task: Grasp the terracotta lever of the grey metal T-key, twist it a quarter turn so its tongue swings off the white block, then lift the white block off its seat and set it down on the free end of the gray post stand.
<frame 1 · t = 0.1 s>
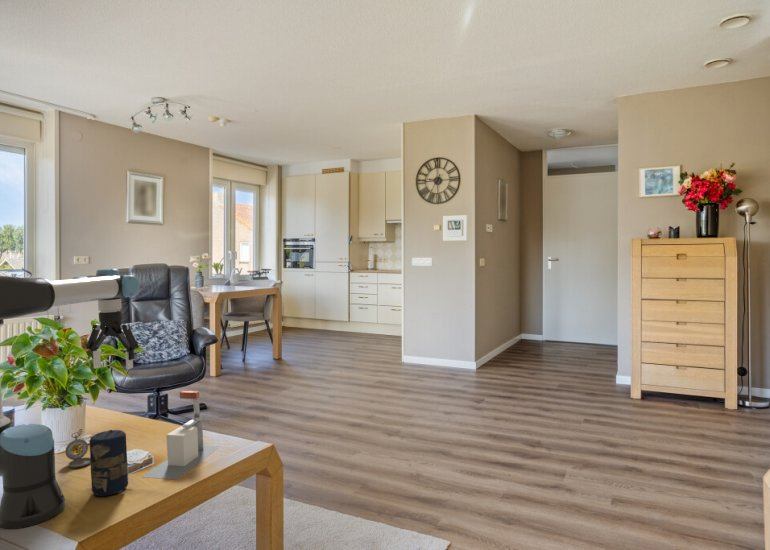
hand: (113, 368, 187), 28 cm above the table, fingers open, 13 cm apart
canister: (110, 491, 150), on the table
pocket watch: (80, 464, 170), on the table
key: (186, 408, 173), point 17 cm above the table, hinge at 0.0°
gray post stand: (183, 464, 167), on the table
white block: (183, 460, 167), point 1 cm above the table, touching gray post stand
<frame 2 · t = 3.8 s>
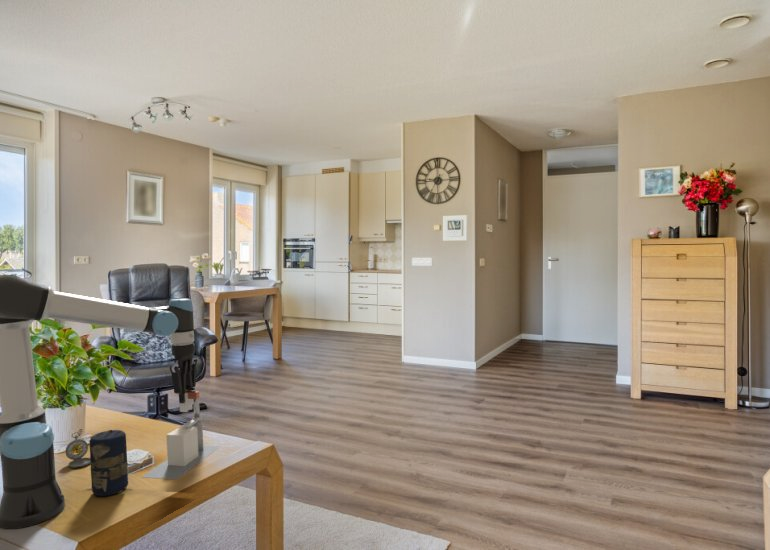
hand: (186, 410, 176), 15 cm above the table, fingers closed on key, 2 cm apart
key: (186, 408, 173), point 17 cm above the table, hinge at 0.0°, touching gripper
everything else where it was.
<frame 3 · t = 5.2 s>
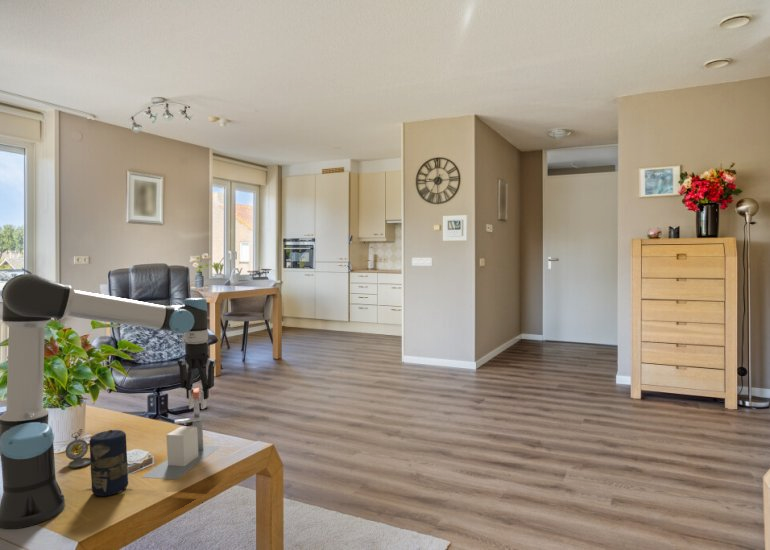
hand: (197, 407, 179), 15 cm above the table, fingers open, 4 cm apart
key: (188, 405, 176), point 17 cm above the table, hinge at -61.5°, touching gripper
everything else where it was.
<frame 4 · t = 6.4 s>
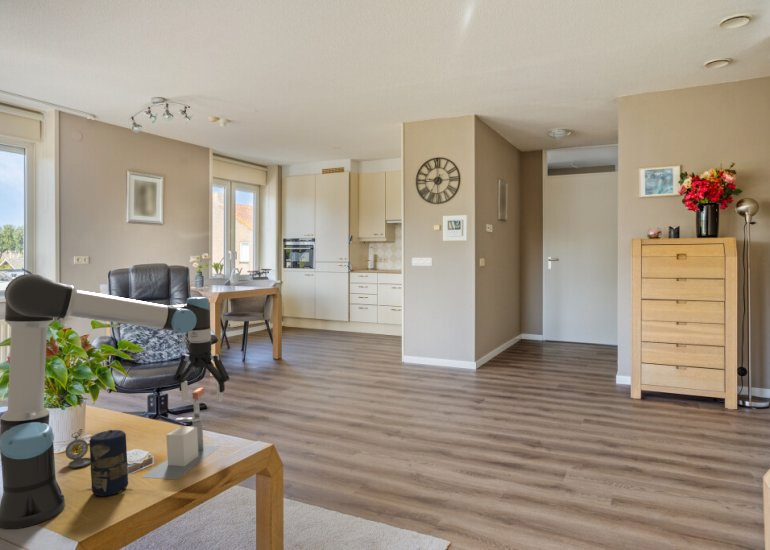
hand: (202, 400, 179), 17 cm above the table, fingers open, 13 cm apart
key: (190, 404, 177), point 17 cm above the table, hinge at -78.8°
everything else where it was.
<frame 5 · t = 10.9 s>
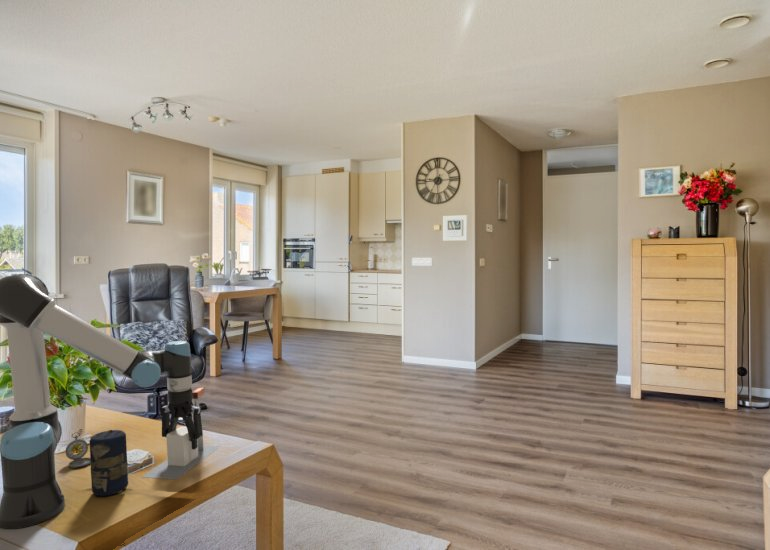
hand: (183, 457, 167), 2 cm above the table, fingers closed on white block, 6 cm apart
key: (190, 404, 177), point 17 cm above the table, hinge at -79.2°
white block: (183, 460, 167), point 1 cm above the table, touching gray post stand, gripper
everything else where it was.
when the fingers open (4 cm above the table, at t = 16.8 s): white block drops 1 cm, resting on gray post stand.
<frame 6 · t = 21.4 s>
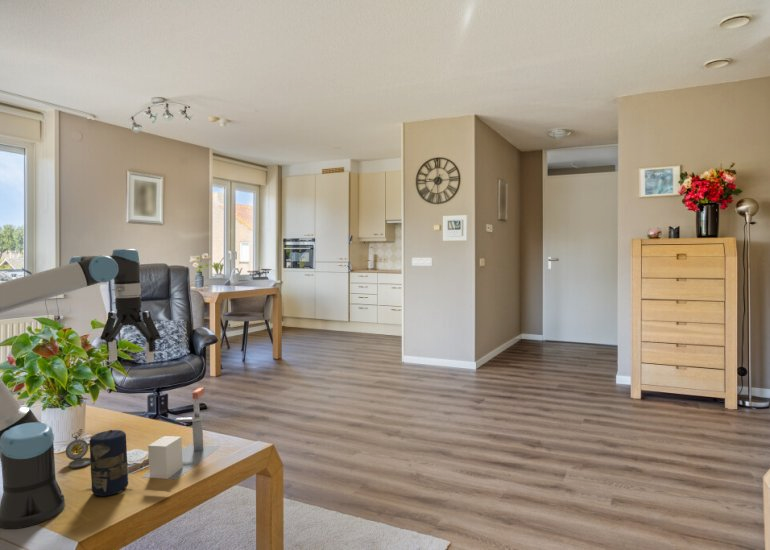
hand: (131, 361, 165), 35 cm above the table, fingers open, 13 cm apart
white block: (166, 472, 158), point 1 cm above the table, touching gray post stand
everything else where it was.
at the end: key at -79° (first picture: +0°); white block inside the target area (0.0 cm from its centre), point 1.2 cm above the table; white block moved 9.0 cm from its start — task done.
